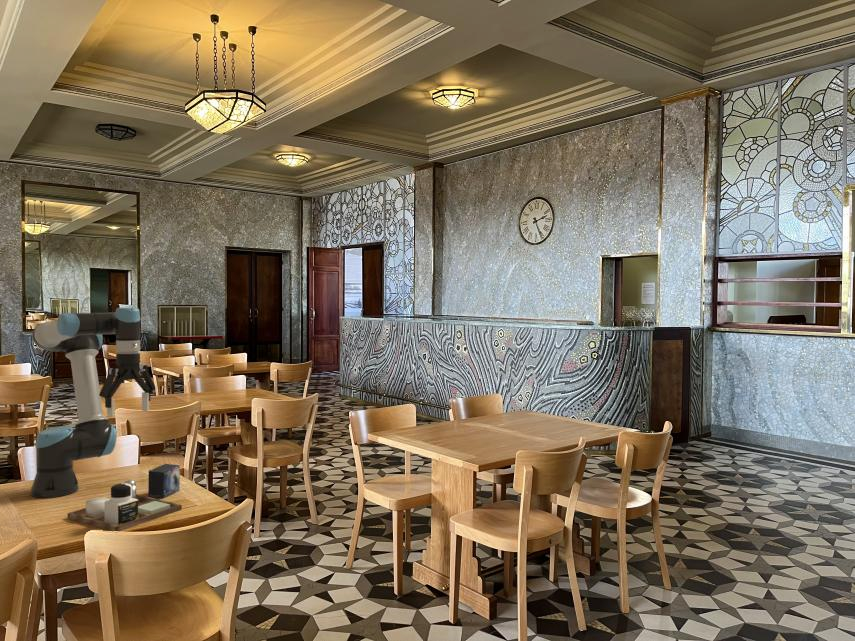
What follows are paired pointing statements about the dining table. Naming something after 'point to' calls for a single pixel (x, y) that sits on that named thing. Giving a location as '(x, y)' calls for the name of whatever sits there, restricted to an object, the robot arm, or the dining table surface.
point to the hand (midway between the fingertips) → (128, 414)
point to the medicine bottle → (121, 505)
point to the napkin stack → (153, 507)
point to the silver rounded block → (95, 507)
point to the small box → (164, 481)
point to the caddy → (142, 518)
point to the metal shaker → (132, 487)
